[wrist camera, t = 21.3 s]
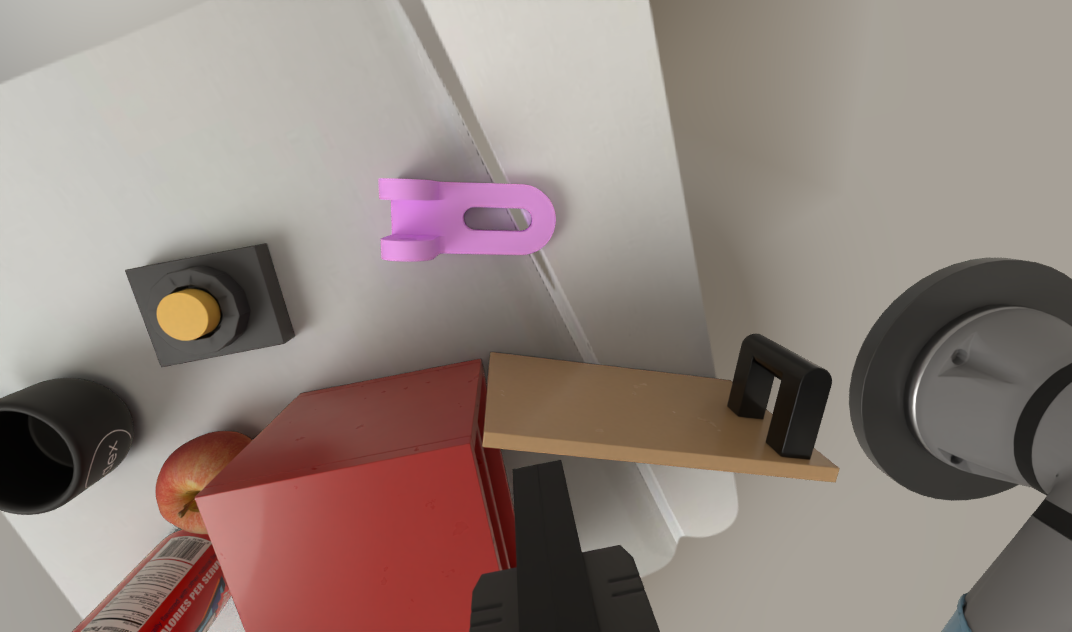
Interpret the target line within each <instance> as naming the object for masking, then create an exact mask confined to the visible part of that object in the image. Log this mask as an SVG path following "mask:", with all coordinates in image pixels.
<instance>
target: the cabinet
mask: <svg viewBox="0 0 1072 632" xmlns="http://www.w3.org/2000/svg"><path fill="white" fill-rule="evenodd" d="M486 393H487V383H486V378H485V374H484V369H483V365H482V360H481V359H476V360H471V361H466V362H461V363H456V364H450V365H445V366H440V367H435V368H430V369H424V370H419V371H414V372H409V373H404V374H399V375H393V376H388V377H383V378H378V379H373V380H367V381H362V382H357V383H352V384H347V385H342V386H336V387H331V388H326V389H321V390H316V391H311V392H305V393H301V394H299V395H298V396H297V398H295V399H294V400H293V401H292V402H291V403H290V404H289V405H288V406H287V407H286V408H285V409H284V410H283V411H282V412H281V413H280V414H279V415H278V416H277V417H276V418H275V419H274V420H273V421H272V422H271V423H270V424H269V425H268V426H267V427H266V428H265V429H264V430H263V431H261V432H260V433H259V434H258V435H257V436H256V437H255V438H254V439H253V440H252V441H251V442H250V443H249V444H248V445H247V446H246V447H245V448H244V449H243V450H242V451H241V452H240V453H239V454H238V455H237V456H236V457H235V458H234V459H233V460H232V461H231V462H230V463H229V464H228V465H227V466H226V467H225V468H224V469H223V470H222V471H221V472H220V473H219V474H218V475H217V476H216V477H215V478H214V479H212V480H211V481H210V482H209V483H208V484H207V485H206V486H205V487H204V489H203V490H201V491H200V492H199V493H198V494H197V495H196V496H195V501H196V503H197V506H198V509H199V511H200V514H201V517H202V519H203V522H204V524H205V527H206V530H207V532H208V535H209V538H210V540H211V543H212V545H213V548H214V551H215V553H216V556H217V559H218V561H219V564H220V566H221V569H222V572H223V574H224V577H225V579H226V582H227V585H228V587H229V590H230V593H231V595H232V598H233V600H234V603H235V606H236V608H237V611H238V614H239V616H240V619H241V621H242V624H243V627H244V629H245V632H469V629H470V615H471V602H472V591H473V589H474V587H475V586H476V584H477V582H478V580H479V578H480V576H481V575H482V574H485V573H490V572H495V571H500V570H505V569H510V568H515V567H517V566H516V540H515V514H514V507H513V503H512V498H511V494H510V489H509V484H508V480H507V475H506V471H505V466H504V461H503V457H502V452H501V449H498V448H489V447H483V446H482V443H483V431H484V418H485V406H486Z"/></svg>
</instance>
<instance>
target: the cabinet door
mask: <svg viewBox="0 0 1072 632" xmlns="http://www.w3.org/2000/svg"><path fill="white" fill-rule="evenodd" d="M774 376H775V377H777V378H778V379H780V380H781V384H780V388H779V391H778V396H777V399H776V403H775V407H774V411H773V414H772V413H770V412H769V411H768V410H767V409H766V407H767V403H768V399H769V395H770V392H771V388H772V384H773V380H774ZM831 384H832V378H831V375H830V373H829V372H828V371H827V370H825V369H823V368H822V367H820V366H818V365H816V364H814V363H812V362H811V361H809V360H807V359H805V358H803V357H801V356H799V355H798V354H796V353H794V352H792V351H790V350H788V349H786V348H785V347H783V346H781V345H779V344H777V343H775V342H773V341H772V340H770V339H768V338H766V337H764V336H762V335H760V334H752V335H749V336H747V337H746V338H745V339H744V341H743V342H742V346H741V350H740V353H739V358H738V362H737V366H736V370H735V374H734V379H733V382H732V381H731V380H724V379H715V378H707V377H698V376H690V375H681V374H673V373H665V372H656V371H648V370H639V369H631V368H622V367H614V366H605V365H597V364H588V363H580V362H571V361H563V360H554V359H546V358H538V357H529V356H521V355H512V354H504V353H495V352H490V358H489V368H488V381H487V393H486V406H485V418H484V431H483V443H482V446H483V447H489V448H498V449H508V450H518V451H528V452H538V453H548V454H558V455H568V456H578V457H588V458H598V459H608V460H618V461H627V462H637V463H647V464H657V465H667V466H677V467H687V468H697V469H707V470H717V471H727V472H737V473H747V474H757V475H766V476H777V477H786V478H796V479H806V480H817V481H827V482H836V479H837V476H838V472H839V468H838V467H837V466H836V465H835V464H833V463H832V462H831V461H830V460H828V459H827V458H826V457H825V456H823V455H822V454H821V453H820V452H818V451H817V450H816V449H815V448H814V445H815V441H816V438H817V434H818V431H819V427H820V424H821V420H822V417H823V413H824V410H825V406H826V402H827V399H828V395H829V392H830V388H831Z"/></svg>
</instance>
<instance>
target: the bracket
mask: <svg viewBox="0 0 1072 632" xmlns="http://www.w3.org/2000/svg"><path fill="white" fill-rule="evenodd" d="M378 180H379V199H386V200H391V218H392V235H390V236H387V237H384V238H381V257H382V259H384V260H389V261H426V260H432V259H434V258H435V257H436V256H437V255H438V254H441V253H452V254H499V255H526V254H531V253H534V252H536V251H538V250H540V249H541V248H542V247H544V246H545V245H546V244H547V242H548V241H549V240H550V238H551V236H552V234H553V232H554V229H555V223H556V217H555V211H554V207H553V205H552V203H551V201H550V200H549V198H548V197H547V196H546V195H545V194H544V193H543V192H542V191H540V190H539V189H537V188H535V187H533V186H530V185H524V184H495V183H462V182H437V181H433V180H418V179H387V178H380V179H378ZM471 207H491V208H523V209H526V210H528V211H529V213H530V214H531V217H532V221H531V224H530V226H529V227H528V228H527V229H526V230H523V231H511V230H474V229H471V228H469V227H468V226H467V225H466V224H465V221H464V214H465V212H466V211H467V210H468V209H469V208H471Z"/></svg>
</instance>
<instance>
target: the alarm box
mask: <svg viewBox="0 0 1072 632" xmlns="http://www.w3.org/2000/svg"><path fill="white" fill-rule="evenodd" d="M125 272H126V274H127V277H128V280H129V282H130V285H131V288H132V290H133V293H134V296H135V299H136V301H137V304H138V307H139V309H140V312H141V315H142V317H143V320H144V323H145V325H146V328H147V331H148V333H149V336H150V339H151V341H152V344H153V347H154V349H155V352H156V355H157V357H158V360H159V363H160V365H161V367H165V366H170V365H176V364H181V363H186V362H191V361H196V360H202V359H207V358H212V357H217V356H223V355H228V354H233V353H238V352H244V351H249V350H254V349H259V348H265V347H270V346H275V345H280V344H284V343H286V342H287V341H289V340H290V339H292V338H293V337H295V336H294V332H293V329H292V326H291V322H290V319H289V316H288V313H287V309H286V306H285V303H284V299H283V296H282V293H281V290H280V286H279V283H278V280H277V276H276V273H275V270H274V266H273V263H272V260H271V257H270V253H269V250H268V247H267V244H260V245H255V246H250V247H244V248H239V249H234V250H228V251H223V252H218V253H212V254H207V255H201V256H196V257H191V258H185V259H180V260H175V261H169V262H164V263H159V264H153V265H148V266H143V267H138V268H133V269H127V270H125ZM186 289H199V290H202V291H205V292H207V293H208V294H210V295H211V296H212V297H213V298H214V299H215V300H216V301H217V303H218V305H219V308H220V313H221V317H220V321H219V324H218V325H217V327H216V328H215V329H214V330H213V331H211V332H209V333H207V334H205V335H203V336H201V337H199V338H197V339H194V340H189V341H183V340H178V339H175V338H173V337H171V336H169V335H168V334H167V333H165V332H164V330H163V329H162V328H161V326H160V325H159V323H158V320H157V308H158V305H159V303H160V302H161V300H162V299H163V298H164V297H166V296H167V295H170V294H172V293H176V292H179V291H182V290H186Z"/></svg>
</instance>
